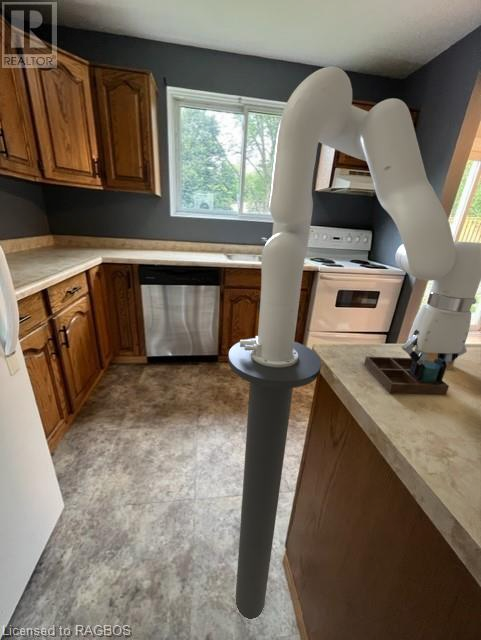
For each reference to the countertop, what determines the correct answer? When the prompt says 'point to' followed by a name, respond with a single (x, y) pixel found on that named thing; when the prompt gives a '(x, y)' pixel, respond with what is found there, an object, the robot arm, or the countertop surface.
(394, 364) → the grid
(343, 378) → the countertop surface
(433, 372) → the teal cylinder
